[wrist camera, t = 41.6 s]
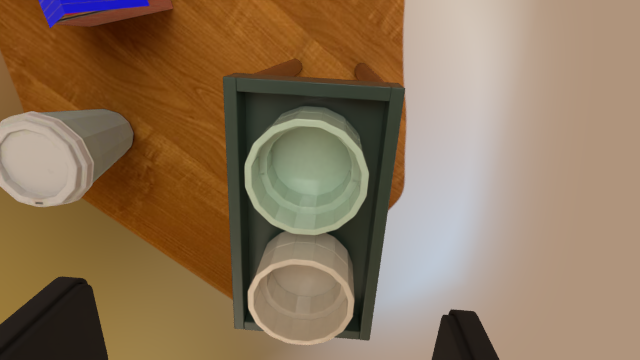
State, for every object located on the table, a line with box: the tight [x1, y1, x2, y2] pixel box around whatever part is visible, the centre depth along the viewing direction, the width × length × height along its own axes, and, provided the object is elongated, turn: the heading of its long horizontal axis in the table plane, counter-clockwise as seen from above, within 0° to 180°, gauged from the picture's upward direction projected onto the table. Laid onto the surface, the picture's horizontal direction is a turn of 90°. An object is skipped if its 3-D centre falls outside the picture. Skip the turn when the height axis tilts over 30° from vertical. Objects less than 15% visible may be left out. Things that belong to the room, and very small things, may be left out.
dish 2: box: [248, 231, 354, 345], centre depth 25 cm, size 7×7×4 cm
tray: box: [223, 59, 405, 340], centre depth 36 cm, size 11×19×27 cm, turn 177°
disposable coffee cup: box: [0, 109, 133, 207], centre depth 43 cm, size 11×11×15 cm
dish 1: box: [244, 106, 369, 235], centre depth 22 cm, size 7×7×4 cm
